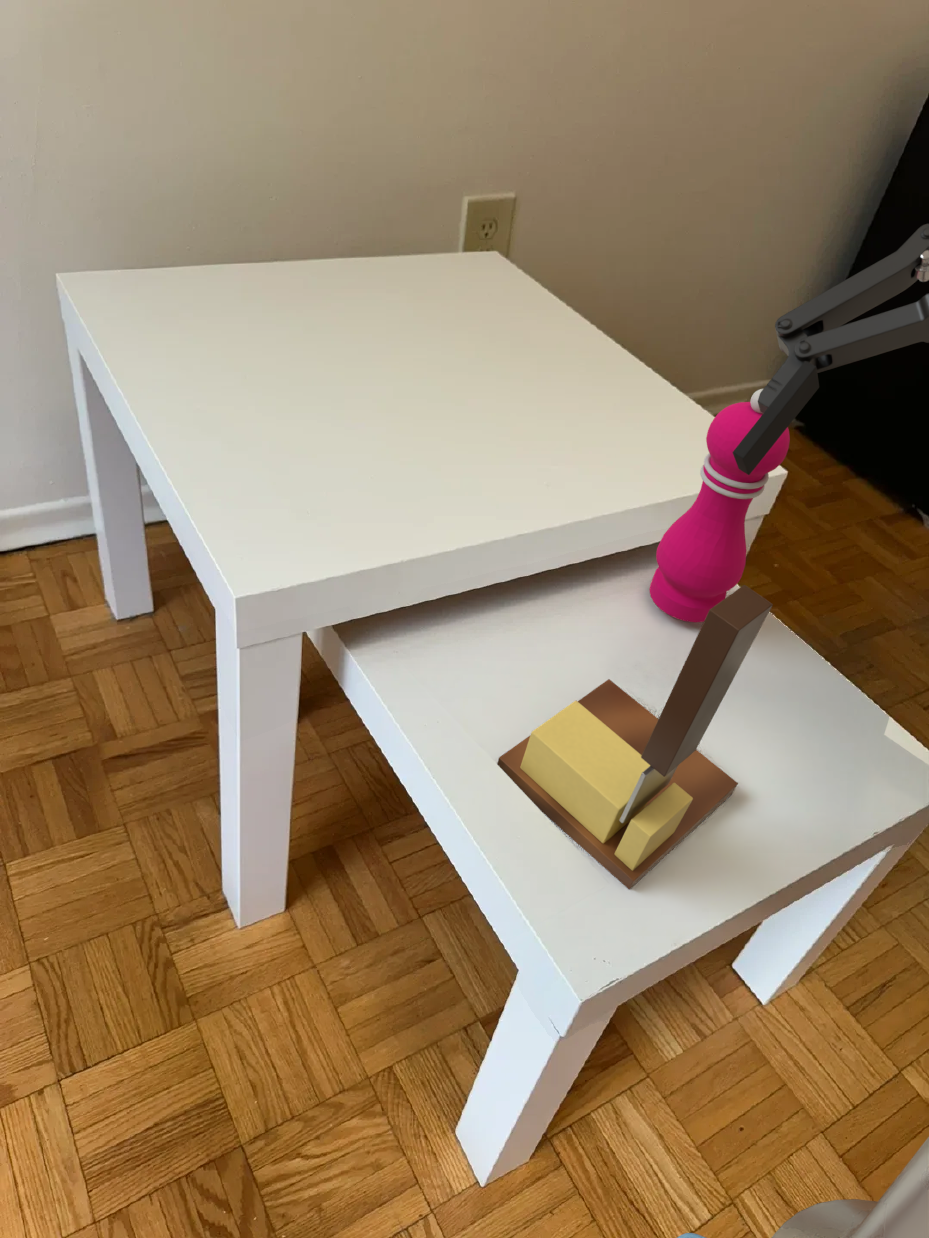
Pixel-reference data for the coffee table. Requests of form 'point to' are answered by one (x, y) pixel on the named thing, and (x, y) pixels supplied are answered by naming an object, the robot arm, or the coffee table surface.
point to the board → (690, 775)
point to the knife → (699, 690)
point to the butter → (600, 782)
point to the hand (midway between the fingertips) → (840, 527)
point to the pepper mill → (713, 521)
